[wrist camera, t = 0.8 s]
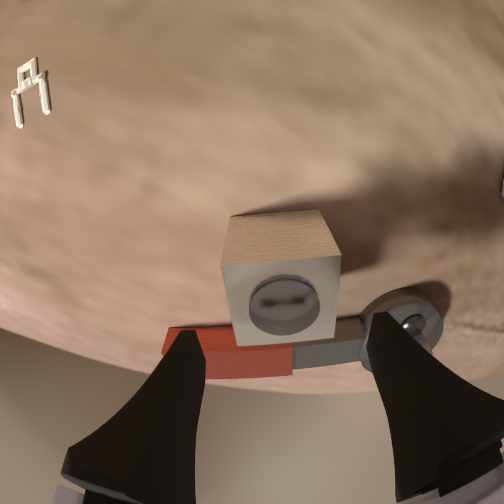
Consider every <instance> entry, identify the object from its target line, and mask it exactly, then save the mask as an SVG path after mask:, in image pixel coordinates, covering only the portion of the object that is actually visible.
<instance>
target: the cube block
mask: <svg viewBox="0 0 504 504" xmlns="http://www.w3.org/2000/svg"><path fill="white" fill-rule="evenodd" d="M341 258H342V255H341V253H340V250H339V248H338V246H337V244H336V242H335V240H334V238H333V236H332V234H331V232H330V230H329V228H328V226H327V224H326V222H325V220H324V219H323V217H322V215H321V213H320V211H319V209H314V210H301V211H288V212H276V213H265V214H254V215H243V216H233V217H230V219H229V224H228V229H227V234H226V239H225V245H224V250H223V255H222V260H221V271H222V276H223V281H224V286H225V291H226V295H227V300H228V305H229V310H230V315H231V319H232V324H233V329H234V333H235V338H236V343H237V346H252V345H267V344H279V343H291V342H301V341H311V340H319V339H328V338H334V332H335V324H336V315H337V306H338V296H339V285H340V272H341Z"/></svg>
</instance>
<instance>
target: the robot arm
mask: <svg viewBox="0 0 504 504" xmlns="http://www.w3.org/2000/svg"><path fill="white" fill-rule="evenodd" d="M502 196H503V197H504V180H503V187H502ZM366 349H367V354H368V358H369V362H370V367H371V370H372V373H373V375H374V378H375V381H376V384H377V387H378V390H379V393H380V395H381V398H382V401H383V404H384V407H385V410H386V414H387V418H388V423H389V428H390V434H391V439H392V446H393V455H394V465H395V496H396V501H397V504H504V452H502V453H501V452H500V448H501V447H502V442H501V439H502V438H504V400H502V399H499V398H497V397H495V396H492V395H490V394H488V393H486V392H484V391H482V390H481V389H479V388H477V387H475V386H473V385H472V384H470V383H469V382H467V381H465V380H464V379H462V378H461V377H459V376H458V375H456V374H455V373H454V372H452V371H451V370H450V369H448V368H447V367H446V366H444V365H443V364H442V363H441V362H439V361H438V360H437V359H436V358H435V357H434V356H432V355H431V354H430V353H429V352H428V351H427V350H426V349H425V348H423V347H422V346H421V345H420V344H419V343H418V342H417V341H416V340H415V339H414V338H413V337H412V336H411V335H410V334H409V333H408V332H407V331H406V330H405V329H404V328H403V327H402V326H401V325H400V324H399V323H398V322H397V321H396V320H395V319H394V318H393V317H392V316H391V315H390V314H389V313H388V312H387V311H385V312H379V313H374V314H373V318H372V323H371V327H370V332H369V336H368V340H367V344H366ZM205 376H206V359H205V356H204V353H203V351H202V348H201V345H200V342H199V339H198V336H197V333H196V330H181V331H180V332H179V333H178V335H177V336H176V338H175V340H174V341H173V343H172V344H171V346H170V347H169V349H168V350H167V352H166V354H165V355H164V357H163V358H162V359H161V361H160V362H159V364H158V365H157V367H156V368H155V369H154V371H153V372H152V374H151V375H150V376H149V377H148V379H147V380H146V381H145V383H144V384H143V385H142V386H141V388H140V389H139V390H138V391H137V392H136V394H135V395H134V396H133V397H132V398H131V399H130V400H129V401H128V402H127V403H126V404H125V405H124V406H123V407H122V408H121V409H120V410H119V411H118V412H117V413H116V414H115V415H114V416H113V417H112V418H111V419H110V420H108V421H107V422H106V423H105V424H103V425H102V426H101V427H100V428H98V429H97V430H96V431H94V432H93V433H92V434H91V435H89V436H87V437H86V438H84V439H83V440H81V441H80V442H78V443H76V444H75V445H73V446H71V447H69V448H68V451H67V454H66V456H65V460H64V463H63V467H62V470H61V475H62V476H63V477H64V478H65V479H67V480H69V481H71V482H72V483H74V484H76V485H78V486H80V487H82V488H84V489H86V491H85V494H82V493H80V492H78V491H75V490H73V489H70V488H68V487H66V486H63V485H61V484H57V486H56V490H55V493H54V497H53V502H52V504H196V497H195V447H196V432H197V425H198V420H199V414H200V408H201V403H202V397H203V392H204V385H205ZM421 494H422V495H421ZM419 495H420V496H419ZM416 496H417V497H416ZM413 497H415V498H413ZM411 498H412V499H411ZM408 499H409V500H408ZM405 500H406V501H405ZM402 501H403V502H402ZM399 502H400V503H399Z"/></svg>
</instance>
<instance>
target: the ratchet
mask: <svg viewBox="0 0 504 504" xmlns="http://www.w3.org/2000/svg"><path fill="white" fill-rule="evenodd" d="M385 311H387V312H388V313H389V314H390V315H391V316H392V317H393V318H394V319H395V320H396V321H397V322H398V323H399V324H400V325H401V326H402V327H403V328H404V329H405V330H406V331H407V332H408V333H409V334H410V335H411V336H412V337H413V338H414V339H415V340H416V341H417V342H418V343H419V344H420V345H421V346H422V347H423V348H425V349H426V350H427V351H428V352H429V353H430V354H431V355H432V356H433V352H432V349H433V348H434V347H435V345H436V344H437V342H438V341H439V339H440V337H441V335H442V332H443V320H442V318H441V316H440V315H439V313H438V311H437V310H436V308H435V307H434V305H433V304H432V302H431V301H430V299H429V298H428V296H427V295H426V294H425V293H424V292H423V291H421V290H419V289H415V288H401V289H397V290H394V291H391V292H388V293H386V294H384V295H382V296H380V297H379V298H377V299H376V300H374V301H373V302H372V303H370V304H369V305H368V306H367V307H366V308H365V309H364V310H363V311H362V313H361V314H360V315H359V317H353V318H345V319H337V320H336V324H335V332H334V338H328V339H319V340H311V341H301V342H291V343H279V344H267V345H252V346H237V343H236V338H235V333H234V329H233V326H222V327H197V328H169V329H168V332H167V335H166V338H165V342H164V345H163V348H162V352H161V353H162V355H163V357H164V355H165V354H166V352H167V350H168V349H169V347H170V346H171V344H172V343H173V341H174V340H175V338H176V336H177V335H178V333H179V332H180V331H181V330H196V333H197V336H198V339H199V342H200V345H201V348H202V351H203V353H204V356H205V359H206V376H205V379H240V378H261V377H275V376H288V375H292V370H293V369H303V368H312V367H321V366H328V365H336V364H342V363H349V362H355V361H361V363H362V365H363V367H364V368H365V369H366V370H368V371H370V372H372V370H371V367H370V362H369V358H368V354H367V349H366V344H367V340H368V336H369V332H370V327H371V323H372V318H373V314H374V313H379V312H385Z"/></svg>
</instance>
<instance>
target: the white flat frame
mask: <svg viewBox="0 0 504 504" xmlns="http://www.w3.org/2000/svg"><path fill="white" fill-rule="evenodd" d="M29 69H30V74H31V77H29V78H27V79H25V80H24V72H26V71H27V70H29ZM17 75H18V88H16V89H14V90H13V91H11V94H10V95H11V96H12V97H13V107H14V114H15V121H16V127H19V129H20V128H22V127H24V126H23V120H22V114H21V106H20V99H19V94H20V93H22V92H24V91H25V90H27V89H29V88H30V87H32V86H33V85H35V84H37V83H39V87H40V94H39V95H40V96H39V97H40V100H41V104H42V110H43V113H45V115H47V114H49V113H50V105H49V98H48V90H47V82H46V79H45V72H42V73H40V74H39V75H38V76H37V63H36V58H33V59H32V60H30V61H29V62H27V63H25V64H24V65H22V66H21V67H19V68H18V69H17Z"/></svg>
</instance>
